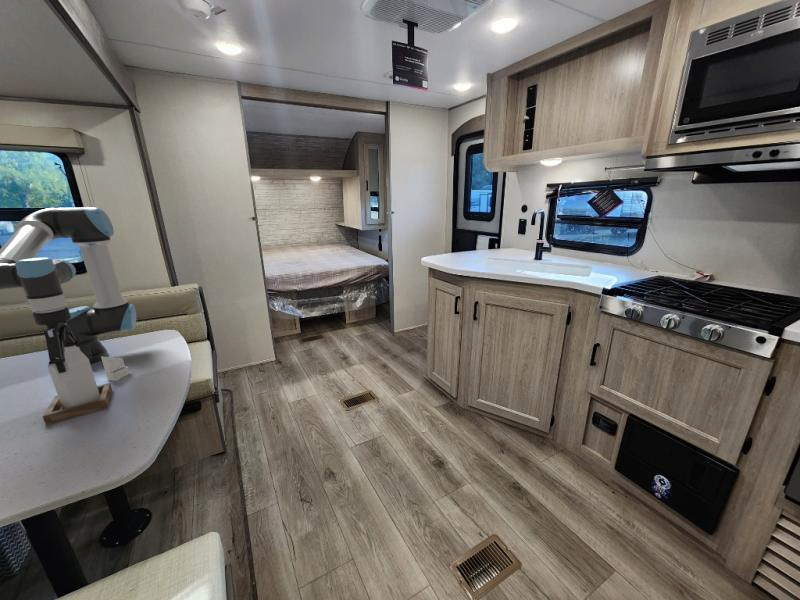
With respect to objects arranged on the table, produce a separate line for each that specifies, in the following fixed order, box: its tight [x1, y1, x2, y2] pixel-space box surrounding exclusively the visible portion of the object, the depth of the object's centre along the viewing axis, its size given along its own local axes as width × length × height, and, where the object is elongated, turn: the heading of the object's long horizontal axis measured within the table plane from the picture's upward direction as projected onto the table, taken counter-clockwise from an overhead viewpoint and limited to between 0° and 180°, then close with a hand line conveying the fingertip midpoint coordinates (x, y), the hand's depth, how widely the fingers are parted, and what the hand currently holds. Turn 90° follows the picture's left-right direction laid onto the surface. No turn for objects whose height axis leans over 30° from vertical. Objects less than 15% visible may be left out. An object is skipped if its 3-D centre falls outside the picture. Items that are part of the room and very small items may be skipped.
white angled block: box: [101, 356, 131, 382], centre depth 123 cm, size 4×10×9 cm
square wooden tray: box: [42, 382, 113, 426], centre depth 105 cm, size 14×14×3 cm
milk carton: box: [47, 347, 100, 408], centre depth 104 cm, size 7×7×19 cm
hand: (71, 372), depth 103 cm, fingers open, 13 cm apart
